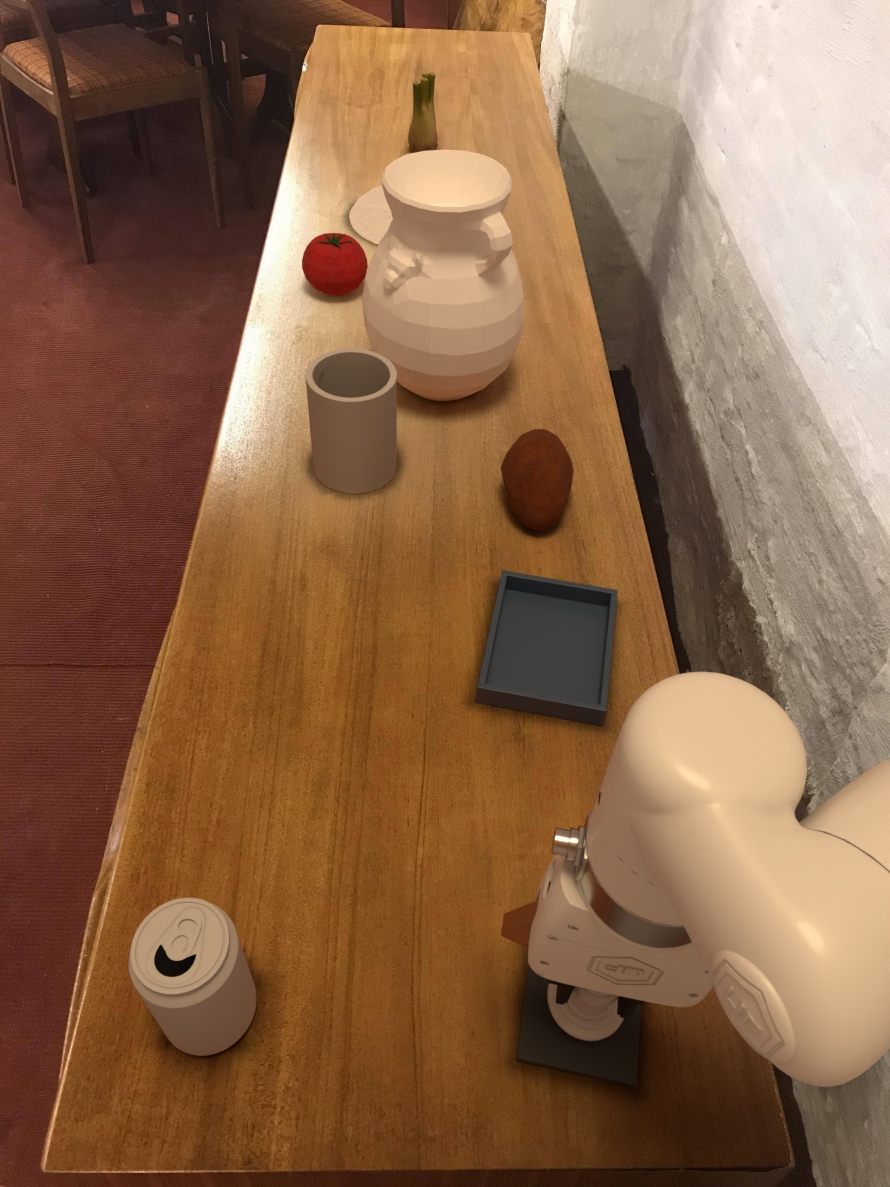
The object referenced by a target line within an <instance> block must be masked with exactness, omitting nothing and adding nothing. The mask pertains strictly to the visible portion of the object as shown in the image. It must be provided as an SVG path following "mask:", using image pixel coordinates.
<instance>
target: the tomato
mask: <svg viewBox="0 0 890 1187" xmlns="http://www.w3.org/2000/svg"><path fill="white" fill-rule="evenodd" d="M368 264H369V263H368V258H367V255H366V252H365V250H364V248H363V247H362V245H361V244H360V243H359V242H358V241H357V239H355V238H354V237H353V236H351V235H349V234H347V233H342V232H327V233H325V232H323V233H322V234H320V235H317V236H315V237H313V239H312V240H311V241H310V242H309V243H308V244H307V245H306V247H305V249H304V251H303V253H302V257H301V269H302V273H303V275H304V277H305V278H304V279H305V280H306V281H307V282H308V283H309V285H310V286H311V287H312V289H314V290H315V291H318V292H320V293H321V294H323V295H326V296H330V297H341V296H345V295H349V294H351V293H352V292H355V291H356V290H357V289H359V287H360V286H361V285H362V284H363V282H364V281H365V276H366V274H367V271H368V268H369V265H368Z"/></svg>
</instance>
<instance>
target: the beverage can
mask: <svg viewBox="0 0 890 1187" xmlns="http://www.w3.org/2000/svg"><path fill="white" fill-rule="evenodd" d="M244 952H245V951H244V950H243V946H242V943H241V940H240V937H239V935H238V932H237V929H236V926H235V923H234V922H233V920H232V919H231V918H230V916H229V915H228V914H227V913H226V911H224V910H223V909H222V908H220V907H219V906H217V905H216V904H214V903H211V902H209V901H207V900H204V899H201V898H199V897H198V898H197V897H180V898H175V899H171V900H169V901H166V902H164V903H162V904H160V905H159V906H157V907H156V908H155V909H153V910H152V911H151V912H149V914H148V915H146V917H145V918H144V919H143V920H142V921H141V923H140V924H139V926H137V928H136V931H135V933H134V935H133V938H132V941H131V946H130V950H129V954H128V972H129V976H130V980H131V982H132V985H133V987H134V988H135V990H136V991H137V993H138V995H139V996H140V997H141V999H142V1001H143V1002H144V1004H145V1006H146V1007H147V1009H148V1011H150V1013H151V1015H152V1016H153V1018H154V1020H155V1021H156V1022H157V1025H158V1026H159V1027H160V1029H161V1031H162V1032H163V1034H164V1035H165V1037H166V1038H167V1039H168V1041H169V1042H170V1043H171V1044H172V1046H174V1047H175V1048H176V1049H178V1050H179V1051H181V1052H182V1053H185V1054H187V1055H190V1056H191V1055H192V1056H197V1057H202V1056H203V1057H204V1056H205V1057H206V1056H212V1055H216V1054H218V1053H220V1052H223V1051H225V1050H227V1049H229V1048H230V1047H231V1046H233V1045H234V1044H235V1043H237V1042H238V1041H239V1040H240V1039H241V1038H242V1037H243V1036H244V1034H245V1033H246V1032H247V1030H248V1028H249V1027H250V1025H251V1024H252V1021H253V1019H254V1016H255V1013H256V1008H257V989H256V984H255V982H254V978H253V976H252V973H251V969H250V967H249V963H248V960H247V959H246V955H245V953H244Z"/></svg>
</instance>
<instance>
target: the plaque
mask: <svg viewBox="0 0 890 1187" xmlns="http://www.w3.org/2000/svg"><path fill="white" fill-rule="evenodd" d="M348 218H349V222H350V225H351V228H352V229H353V230H354V231H355V232H356V233H357V234H358V235H359V236H360V237H362V238H363V239H365V240H367V241H369V242H371V243H372V244H373V243H374V244H376V245H378V244H379V242H380V241H381V239H382V238H383V236H384V235H385V233H386V232H387V230H388V228H389V226H390V224H391V221H392V219H393V218H392V214H391V210H390V207H389V205H388V203H387V200H386V198H385V195H384V191H383V187H382V184H380V185H378V186H375V187H374V188H371V189H370V190H368V191H367V192H364V193H363V194H362V195H361V196H359V197H358V198H357V200H356V201H355V202H354V204H353V206H352V207H351V209H350V211H349V217H348Z"/></svg>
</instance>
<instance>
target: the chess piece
mask: <svg viewBox="0 0 890 1187" xmlns="http://www.w3.org/2000/svg"><path fill="white" fill-rule="evenodd" d="M556 992H557V985H554V984H550V983H549V985H548V993H547V997H548V1004H549V1008H550V1011H551V1013H552V1016H553V1018H554V1019H555V1021H556V1022H557V1024H558V1025H559V1026H560V1027H561V1028H562V1029H563V1030H564V1031H565V1032H567V1033H568V1034H570V1035H571V1036H573V1037H575V1038H578V1039H581V1040H586V1041H596V1040H601V1039H604V1038H606V1037H608V1036H610V1035H611V1034H613V1033H614V1032H615V1031H616V1030H617V1029H618V1028H619V1026H620V1025H621V1023H622V1021H623V1019H624V1018H621V1017H620V1015H618V1014H617V1005H618V998H619V996H617V995H613V994H608V993H604V992H599V991H595V990H590V989H586V988H581V987H577V986H575V987H574V989H573V992H572V994H571V996H570V998H569V1000H568V1002H567V1003H564V1005H561V1004H557V1003H556Z"/></svg>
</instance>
